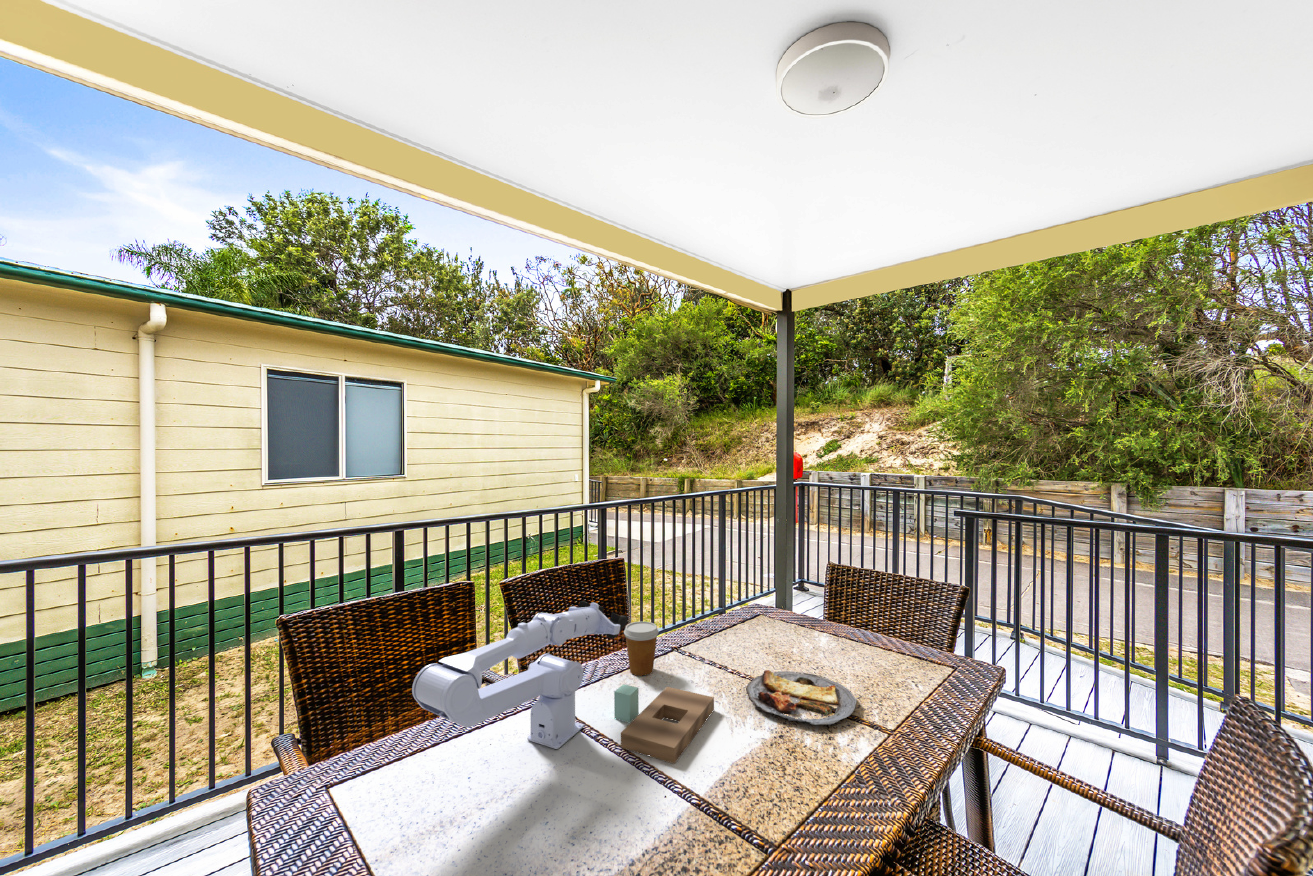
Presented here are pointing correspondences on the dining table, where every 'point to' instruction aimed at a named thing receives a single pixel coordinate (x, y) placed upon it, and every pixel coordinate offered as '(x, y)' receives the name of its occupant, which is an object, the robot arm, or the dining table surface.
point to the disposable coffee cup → (641, 646)
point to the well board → (667, 724)
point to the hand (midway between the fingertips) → (614, 615)
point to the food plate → (800, 696)
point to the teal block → (626, 703)
